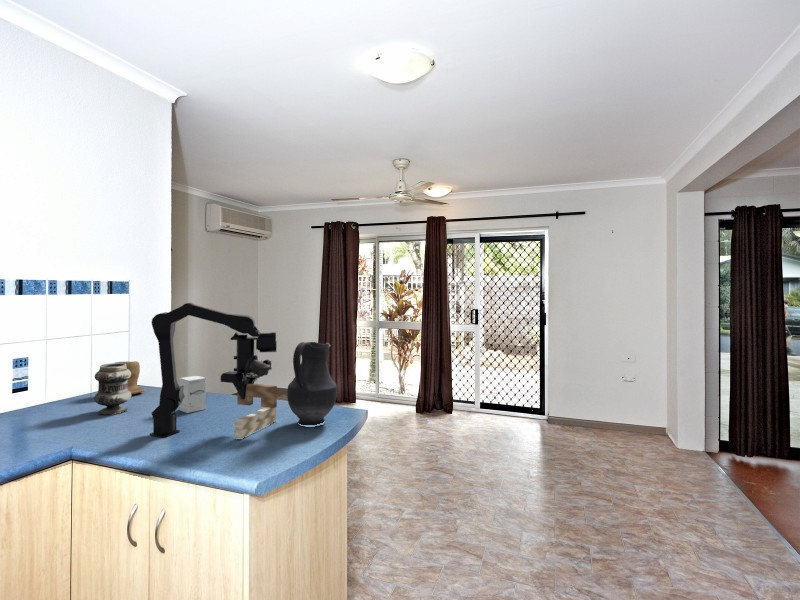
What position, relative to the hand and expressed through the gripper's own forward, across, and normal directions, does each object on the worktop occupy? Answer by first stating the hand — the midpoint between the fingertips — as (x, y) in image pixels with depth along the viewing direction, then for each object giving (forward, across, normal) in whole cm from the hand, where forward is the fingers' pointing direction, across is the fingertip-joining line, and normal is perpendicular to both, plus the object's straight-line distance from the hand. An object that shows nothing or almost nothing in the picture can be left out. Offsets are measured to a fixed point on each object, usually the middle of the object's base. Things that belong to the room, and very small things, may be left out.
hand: (245, 398), depth 155 cm
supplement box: (+11, +13, +33) cm, 37 cm away
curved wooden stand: (+11, +22, +77) cm, 81 cm away
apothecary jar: (+11, +1, +59) cm, 60 cm away
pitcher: (+11, +11, -19) cm, 24 cm away
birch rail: (+10, 0, -5) cm, 12 cm away
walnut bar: (+2, 0, -5) cm, 5 cm away
